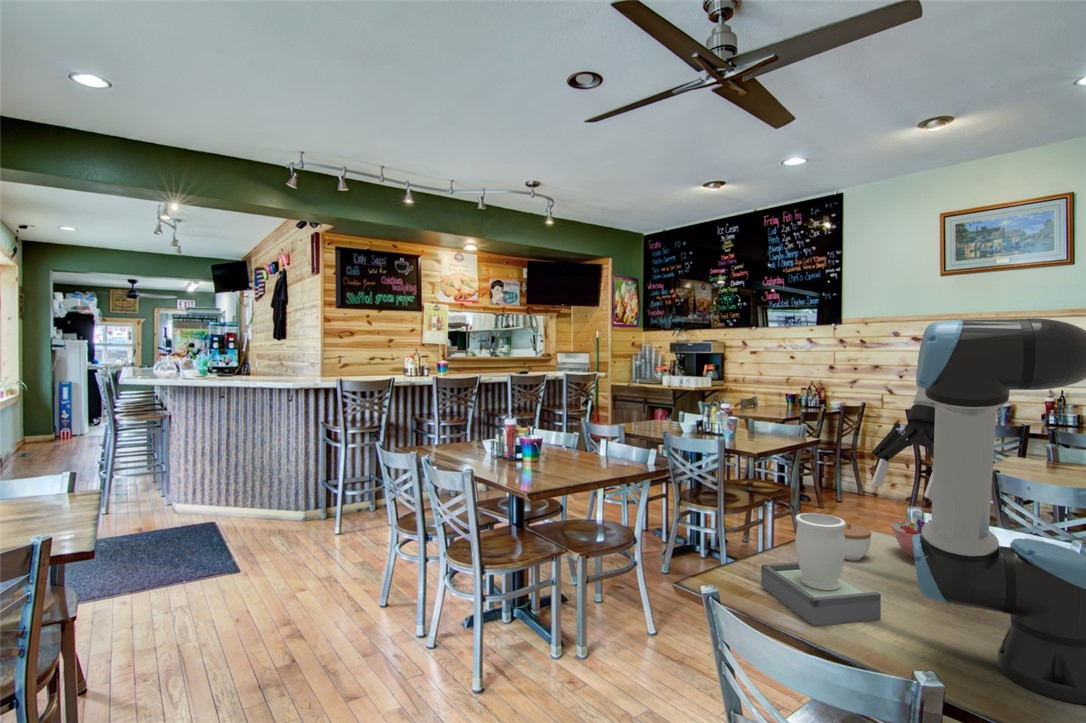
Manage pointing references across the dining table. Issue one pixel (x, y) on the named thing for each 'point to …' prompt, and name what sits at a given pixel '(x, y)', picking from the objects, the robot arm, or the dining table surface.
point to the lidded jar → (856, 541)
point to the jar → (820, 549)
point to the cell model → (907, 533)
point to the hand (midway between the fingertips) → (901, 491)
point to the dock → (819, 597)
